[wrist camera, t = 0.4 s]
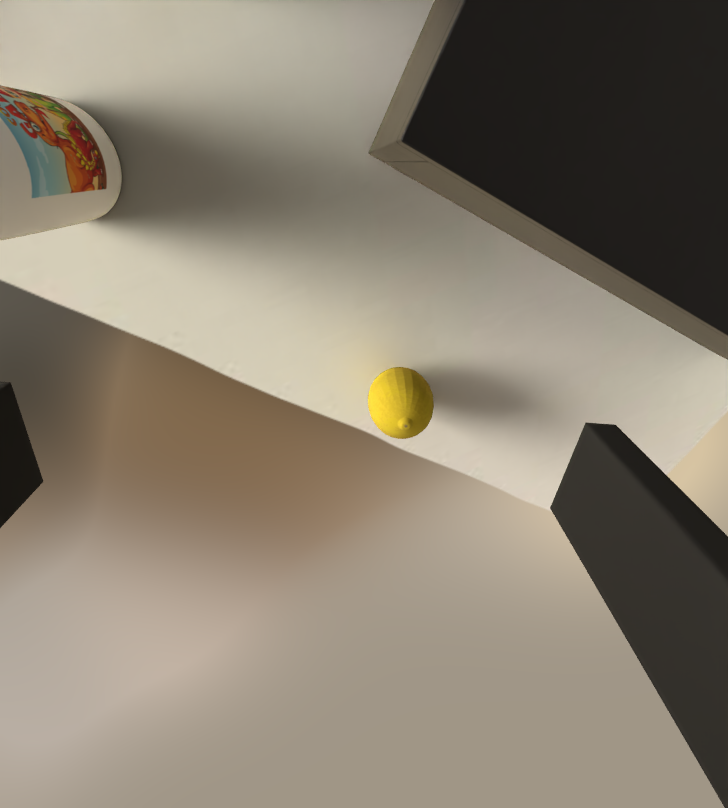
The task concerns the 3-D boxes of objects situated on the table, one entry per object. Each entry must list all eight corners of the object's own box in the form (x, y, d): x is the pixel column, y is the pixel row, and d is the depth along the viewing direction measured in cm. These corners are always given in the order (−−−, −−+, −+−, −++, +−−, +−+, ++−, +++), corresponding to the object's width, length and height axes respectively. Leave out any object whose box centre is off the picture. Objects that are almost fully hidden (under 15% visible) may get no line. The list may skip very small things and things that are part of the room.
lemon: (434, 364, 40) (453, 407, 33) (411, 413, 42) (423, 463, 35) (378, 345, 39) (385, 385, 32) (357, 397, 41) (360, 445, 34)
